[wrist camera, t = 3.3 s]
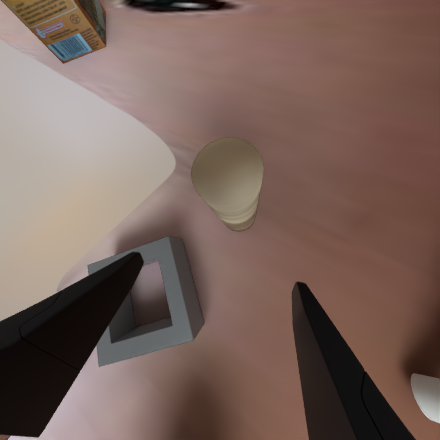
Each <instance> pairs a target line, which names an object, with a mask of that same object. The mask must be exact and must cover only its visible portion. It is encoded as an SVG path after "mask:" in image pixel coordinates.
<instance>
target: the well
mask: <svg viewBox="0 0 440 440" xmlns="http://www.w3.org/2000/svg"><path fill="white" fill-rule="evenodd" d="M133 251H135V252H140V253H141V256H142V258H143V260H144V264H143V266H144V265H147V264H150V263H153V262H156V261H159V264H160V269H161V273H162V278H163V282H164V287H165V292H166V296H167V301H168V305H169V310H170V315H171V317H169V318H165V319H162V320H159V321H155V322H152V323H149V324H145V325H142V326H139V327H136V324H135V318H134V312H133V306H132V300H131V294H130V292H129V293H128V295H127V297H126V298H125V300H124V301H123V303H122V305H121V306H120V308H119V309H118V311H117V313H116V314H115V316H114V318H113V319H112V321H111V322H110V324H109V326H108V327H107V329H106V330H105V332H104V334H103V335H102V337H101V338H100V340H99V342H98V343H97V345H96V346H97V355H98V364H99V367H100V366H104V365H108V364H111V363H115V362H118V361H122V360H126V359H129V358H133V357H136V356H140V355H144V354H147V353H151V352H154V351H158V350H161V349H165V348H169V347H172V346H176V345H179V344H183V343H187V342H190V341H194V339H195V337H196V336H197V334H198V333H199V331H200V329H201V328H202V326H203V325H204V320H203V317H202V313H201V309H200V305H199V301H198V297H197V293H196V290H195V286H194V282H193V278H192V274H191V270H190V267H189V263H188V259H187V255H186V251H185V247H184V244H183V240H182V239H180V238H175V237H170V236H168V237H165V238H162V239H159V240H156V241H154V242H151V243H148V244H145V245H142V246H140V247H137V248H134V249H131V250H129V251H126V252H123V253H120V254H117V255H115V256H112V257H109V258H106V259H103V260H101V261H98V262H95V263H92V264H89V265H88V273H89V275H91V274H92V273H94V272H96V271H98V270H100V269H102V268H103V267H105V266H107V265H109V264H111V263H113V262H114V261H116V260H118V259H120V258H122V257H124V256H125V255H127V254H129V253H131V252H133Z"/></svg>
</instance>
